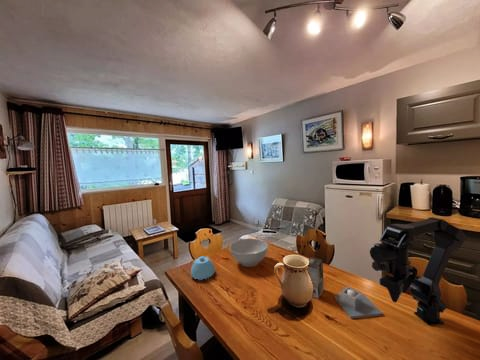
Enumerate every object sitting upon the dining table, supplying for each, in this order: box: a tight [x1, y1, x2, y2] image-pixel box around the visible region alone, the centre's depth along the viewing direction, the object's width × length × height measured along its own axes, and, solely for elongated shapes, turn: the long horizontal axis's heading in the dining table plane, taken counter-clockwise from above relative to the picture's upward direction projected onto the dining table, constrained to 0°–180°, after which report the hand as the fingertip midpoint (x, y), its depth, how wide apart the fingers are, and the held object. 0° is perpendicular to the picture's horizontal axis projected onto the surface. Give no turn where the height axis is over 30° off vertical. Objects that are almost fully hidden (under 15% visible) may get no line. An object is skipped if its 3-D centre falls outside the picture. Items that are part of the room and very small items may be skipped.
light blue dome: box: [190, 255, 216, 281], centre depth 125 cm, size 15×15×12 cm
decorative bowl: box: [229, 238, 269, 268], centre depth 136 cm, size 27×27×12 cm
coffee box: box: [307, 256, 325, 299], centre depth 100 cm, size 9×6×16 cm
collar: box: [338, 285, 364, 311], centre depth 90 cm, size 7×7×5 cm
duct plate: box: [334, 289, 384, 320], centre depth 89 cm, size 14×13×6 cm
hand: (399, 297), depth 76 cm, fingers open, 9 cm apart
